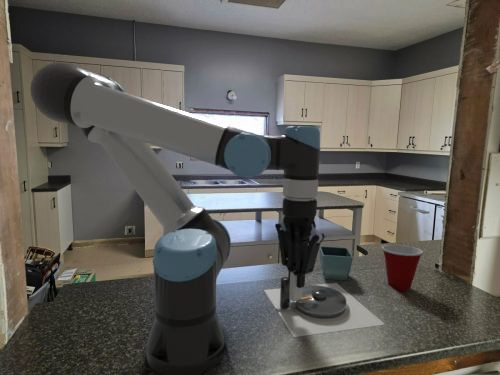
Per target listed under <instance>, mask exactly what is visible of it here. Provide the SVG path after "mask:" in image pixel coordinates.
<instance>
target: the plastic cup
mask: <svg viewBox="0 0 500 375" xmlns="http://www.w3.org/2000/svg"><path fill="white" fill-rule="evenodd" d="M381 250H382V252H383V257H384V261H385V269H386V277H387V285H388V286H389V287H390V288H392V289H394V290H395V291H397V292H401V293H407V292H409V291H410V289H411V287H412V284H413V281H414V280H415V279H414V278H415V275H416V271H417V267H418V264H419V262H420V259H421V256H422V255H423V252H424V251H423V250H422V249H420V248H417V247H414V246H409V245H404V244H385V245H382V246H381Z"/></svg>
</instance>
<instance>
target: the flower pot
mask: <svg viewBox="0 0 500 375" xmlns="http://www.w3.org/2000/svg"><path fill="white" fill-rule="evenodd" d="M353 259H354V256H353V254H352V253H351V251H350V250H349V248H347V247H338V246H337V247H336V246H326V245H320V247H319V261H320V267H321V271H322V275H323V277H324V279H325V280H337V281H346V280H347V279H348V277H349V275H350V273H351V268H352V265H353Z"/></svg>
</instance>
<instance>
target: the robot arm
mask: <svg viewBox="0 0 500 375" xmlns="http://www.w3.org/2000/svg"><path fill="white" fill-rule="evenodd" d="M29 91H30V97H31V99H32V101H33V104H34V105H35V108H37V109H38V110H39V112H40V113H41V114H42V115H44V116H45V117H46V118H48V119H50V120H52V121H54V122H58V123H61V124H62V123H63V124H68V125H72V126H76V127H78V128H79V129H80V131H81V132H82V133H83V135H84V136H85V137H86V138H87V140H88V141H89V142H90V143H95V144H99V145H101V147H102V148H103V149H104V150H105V152H106V154H107V155H108V156H109V157H110V159H111V160H112V161H113V163H114V164H115V165H116V166H117V168H118V170H120V172H121V173H122V174H123V176H124V177H125V178H126V180H127V181H128V182H129V184H130V186H132V188H133V189H134V190H135V192H136V193H137V195H138V196H139V197H140V198H141V200H142V201H143V203H144V204H145V205H146V206H147V208H148V209H149V210H150V212H151V213H152V214H153V215H154V217H155V219H156V220H157V221H158V223H160V225H161V226H162V227H163V233H162V234H163V235H162V236H161V237H160V238H158V240H157V241H156V243H155V245H154V249H153V256H152V257H153V258H152V266H153V287H154V288H153V289H154V316H155V317H154V321H153V323H152V327H151V330H150V333H149V336H148V339H147V343H146V348H145V349H146V360H147V361H146V362H147V364H148V366H149V367H150V369H151V370H153V371H154V372H155V373H157V374H159V375H202V374H204V373H205V372H208V371H209V370H211V369H213V368H215V367H216V366H217V365H218V364H219V363H220V361H221V360H222V358H223V357H224V354H225V347H226V346H225V345H226V344H225V335H224V331H223V329H222V325H221V323H220V321H219V317H218V314H217V278H218V277H219V274H220V273H221V271H222V269H223V267H224V265H225V263H226V262H227V261H228V259H229V256H230V251H231V247H232V246H231V245H232V244H231V240H232V239H231V235H230V233H229V231H228V229H227V227H226V226H225V225H224V224H223V223H222V222H221V221H219V220H217V219H214V218H212V216H211V215H210V214H209V213H208V211H207V209H205V207H201V206H196V205H194V203H193V202H192V200H191V199H190V198H189V197H188V195H187V194H186V192H185V191H184V189H183V188H182V187H181V186H180V184H179V183H178V181H177V180H176V179H175V178H174V176H173V175H172V174H171V173H170V171H169V169H168V168H167V167H166V166H165V164H164V163H163V161H162V160H161V159H160V157H159V156H158V154H156V152H155V150H154V149H153V148H152V147H151V145H152V146H154V147H155V146H156V147H159V148H162V149H165V150H167V151H170V152H174V153H177V154H181V155H183V156H185V157H188V158H192V159H196V160H198V161H202V162H205V163H208V164H211V165H214V166H217V167H219V168H222V169H225V170H228V171H230V172H231V173H233V174H234V175H236V176H237V177H240V178H245V179H246V178H247V179H248V178H250V179H251V178H255V177H257V176H259V175H261V174H262V173H263V172H265V171H283V182H282V195H283V199H282V209H281V210H282V215H283V216H284V217H283V219H282V221H281V222H278V223H275V225H274V226H275V227H274V228H275V229H276V233H277V238H278V242H279V243H278V244H279V246H278V247H279V251H280V259H281V265H282V267H285V268H286V269H287V270H288V282H289V283H290V291H289V299H290V300H292V301H297V300H299V299H301V298H302V288H303V287H304V286H306V285H305V284H306V275H307V274H310V273H311V274H312V272H314V269H315V265H316V261H317V258H318V255H319V252H320V246H321V243H322V242H323V241H324V239H325V237H326V236H325V234H324V233H320V232H319V231H318V229H316V227H317V224H316V221H315V218H316V216H317V214H318V213H317V212H318V211H317V210H318V201H317V199H316V198H317V197H318V191H319V187H318V186H319V171H320V170H319V169H320V155H321V131H320V130H319V128H318V127H316V126H312V125H311V126H309V125H308V126H307V125H305V126H304V125H299V126H297V125H294V126H293V125H291V126H290V125H289V126H286V127H285V130H284V134H281V135H270V134H269V135H266V134H265V135H264V134H258V133H257V134H256V133H254V132H250V131H246V130H242V129H240V128H236V127H233V126H229V125H226V124H224V123H221V122H217V121H214V120H211V119H210V118H209V119H208V118H206V117H205V118H204V117H201V116H198V115H195V114H192V113H189V112H187V111H183V110H180V109H177V108H173V107H172V106H167V105H165V104H161V103H157V102H155V101H152V100H149V99H146V98H143V97H139V96H137V95H133V94H130V93H127V92H126V91H125V89H124V88H123V87H122V86H121V85H120V84H119V83H117V81H115V80H113V79H112V78H110V77H108V76H106V75H104V74H100V73H95V72H92V71H90V70H87V69H84V68H81V67H78V66H77V65H73V64H70V63H67V62H65V63H64V62H54V63H50V64H46V65H44V66H42V67H40V69H38V70H37V71H36V72H35V73H34V75H33V77H32V80H31V82H30V90H29Z"/></svg>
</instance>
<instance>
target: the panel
mask: <svg viewBox="0 0 500 375" xmlns="http://www.w3.org/2000/svg"><path fill="white" fill-rule="evenodd" d="M316 285H317V286H324V287H329V288H332V289H334V290H337V291H339V292H340V293H341V294H343V295H344V296H345V298H346V310H345V312H344V313H343V314H342V315H341V316H338V317H335V318H328V319H323V318H315V317H311V316H307V315H305V314H303V313H301V312H299V311H298V310H297V309H296V308H288V309H283V308H281V307H280V288H281V287H280V288H272V289H263V291H264V292H265V294H266V296H267V297H268V299H269V301H270V302H271V303H272V305H273V307H274V309H275V310H276V311H277V314H279V316H280V318H281V319H282V321H283V322H284V324H285V326H286V327H287V329H288V331H289V332H290V333H291V336H292V337H293V338H298V337H306V336H314V335H320V334H327V333H335V332H342V331H343V332H344V331H348V330H355V329H356V330H358V329H363V328H370V327H371V328H372V327H380V326H385V323H384V322H383V321H381V320H380V319H379V318H378V317H377V316H376V315H375V314H374V313H373V312H371V311H370V310H369V309H368V308H367V307H365V306H364V304H362V303H361V302H359V301H358V300H357V299H356V298H355V297H353V296H352V295H351V293H349V292H347V290H345V289H344V288H343V287H342V286H341V285H339V283H337V282H333V283H331V282H330V283H321V284H316Z"/></svg>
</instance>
